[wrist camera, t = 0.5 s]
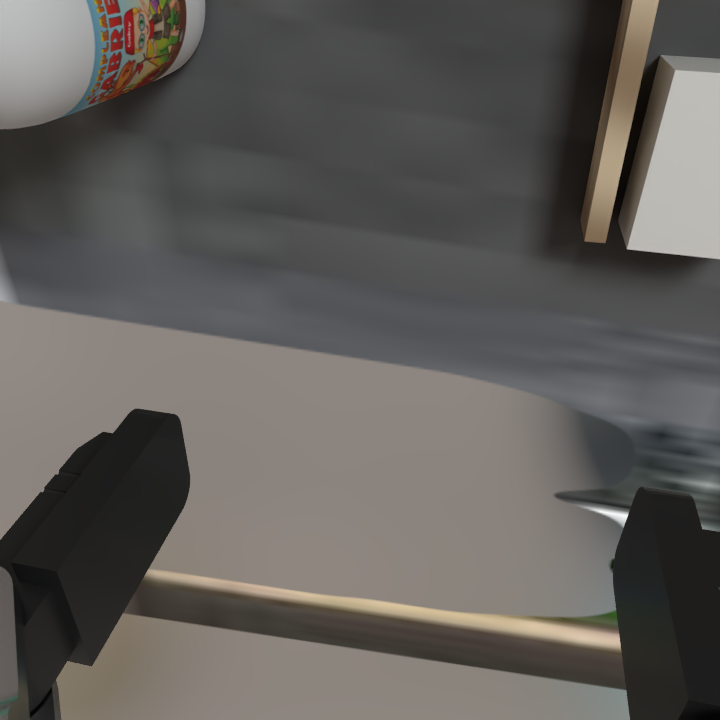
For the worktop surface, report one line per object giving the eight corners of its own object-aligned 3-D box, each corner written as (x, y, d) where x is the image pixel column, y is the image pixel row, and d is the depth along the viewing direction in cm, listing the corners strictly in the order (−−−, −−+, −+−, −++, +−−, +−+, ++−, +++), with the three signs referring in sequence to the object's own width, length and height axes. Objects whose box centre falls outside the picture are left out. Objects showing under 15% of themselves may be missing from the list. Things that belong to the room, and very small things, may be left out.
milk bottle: (93, 79, 37) (-258, 202, 20) (48, -89, 33) (-436, -104, 16) (223, 73, 35) (-44, 202, 19) (193, -105, 31) (-184, -139, 15)
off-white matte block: (659, 54, 31) (675, 70, 27) (800, 63, 30) (833, 80, 27) (617, 218, 35) (626, 249, 32) (738, 230, 34) (761, 263, 31)
